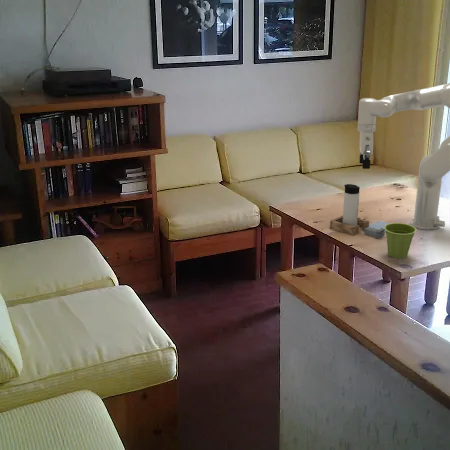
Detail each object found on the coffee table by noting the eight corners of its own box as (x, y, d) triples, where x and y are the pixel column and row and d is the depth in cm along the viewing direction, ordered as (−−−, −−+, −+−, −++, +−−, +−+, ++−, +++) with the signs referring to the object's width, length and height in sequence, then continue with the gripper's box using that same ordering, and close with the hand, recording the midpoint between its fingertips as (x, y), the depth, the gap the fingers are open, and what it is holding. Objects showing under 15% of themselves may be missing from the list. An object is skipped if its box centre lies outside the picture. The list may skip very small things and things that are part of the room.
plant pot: (375, 252, 219) (377, 225, 215) (399, 247, 224) (402, 221, 220) (395, 263, 209) (398, 235, 205) (420, 258, 214) (423, 230, 210)
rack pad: (398, 227, 245) (398, 226, 245) (386, 233, 238) (387, 232, 238) (378, 221, 252) (378, 220, 251) (366, 227, 245) (366, 226, 245)
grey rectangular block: (384, 236, 235) (384, 229, 234) (378, 238, 232) (379, 231, 231) (368, 231, 240) (369, 224, 239) (363, 234, 237) (363, 227, 236)
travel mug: (338, 227, 246) (341, 183, 239) (352, 225, 248) (355, 182, 241) (345, 231, 241) (348, 187, 234) (359, 230, 242) (362, 185, 235)
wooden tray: (368, 228, 244) (369, 221, 243) (354, 235, 236) (354, 227, 235) (344, 221, 252) (345, 214, 251) (329, 228, 245) (330, 220, 244)
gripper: (378, 131, 233) (376, 170, 239) (372, 123, 249) (370, 161, 255) (360, 131, 234) (358, 170, 240) (355, 124, 250) (353, 161, 256)
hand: (364, 165), depth 247 cm, fingers open, 9 cm apart
